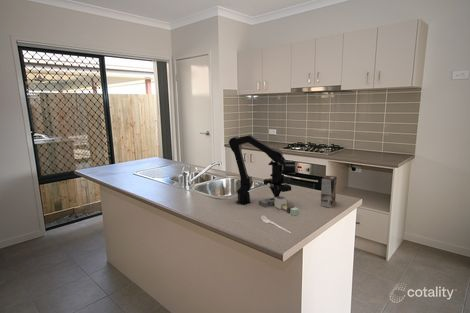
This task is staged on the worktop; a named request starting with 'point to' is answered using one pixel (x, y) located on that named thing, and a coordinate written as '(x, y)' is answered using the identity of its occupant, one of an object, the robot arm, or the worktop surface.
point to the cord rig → (290, 209)
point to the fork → (272, 223)
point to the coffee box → (328, 191)
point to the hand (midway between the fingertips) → (276, 199)
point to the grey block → (280, 201)
